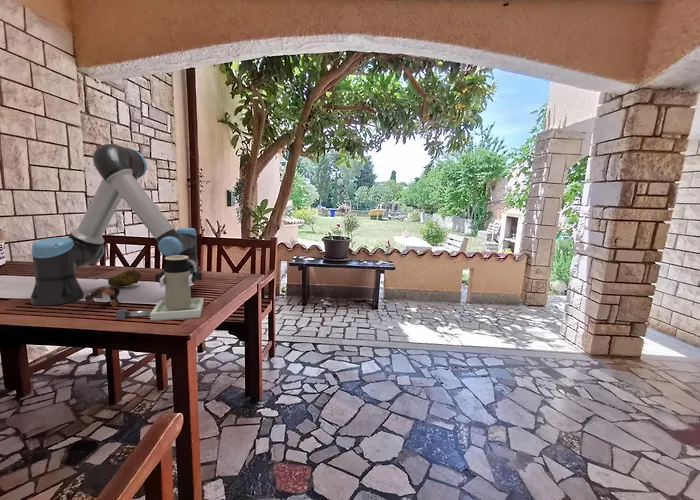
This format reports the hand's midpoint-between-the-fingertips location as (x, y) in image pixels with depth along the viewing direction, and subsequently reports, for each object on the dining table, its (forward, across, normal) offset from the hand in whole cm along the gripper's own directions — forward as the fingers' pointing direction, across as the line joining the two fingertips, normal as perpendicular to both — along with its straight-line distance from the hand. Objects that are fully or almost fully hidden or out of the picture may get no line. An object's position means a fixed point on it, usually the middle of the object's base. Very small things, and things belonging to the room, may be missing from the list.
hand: (175, 282), depth 112 cm
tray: (-5, 0, -12) cm, 13 cm away
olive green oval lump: (-46, +27, -12) cm, 55 cm away
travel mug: (-5, 0, -10) cm, 11 cm away
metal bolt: (-3, +13, -12) cm, 18 cm away
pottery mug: (-19, +27, -12) cm, 35 cm away
